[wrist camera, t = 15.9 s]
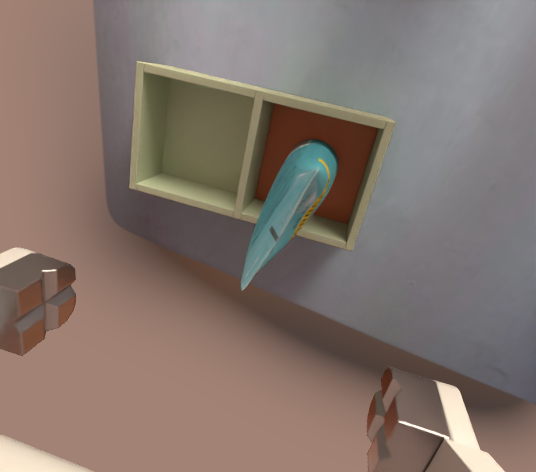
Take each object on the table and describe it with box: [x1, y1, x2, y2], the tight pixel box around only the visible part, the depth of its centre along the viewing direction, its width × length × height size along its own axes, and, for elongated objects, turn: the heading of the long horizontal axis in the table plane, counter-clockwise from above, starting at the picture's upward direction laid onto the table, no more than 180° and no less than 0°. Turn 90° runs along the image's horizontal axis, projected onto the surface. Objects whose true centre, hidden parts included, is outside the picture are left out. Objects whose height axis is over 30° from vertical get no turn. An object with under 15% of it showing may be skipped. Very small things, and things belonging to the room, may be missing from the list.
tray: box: [129, 61, 396, 251], centre depth 34 cm, size 22×11×6 cm, turn 78°
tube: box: [241, 139, 339, 291], centre depth 26 cm, size 7×5×19 cm, turn 155°
